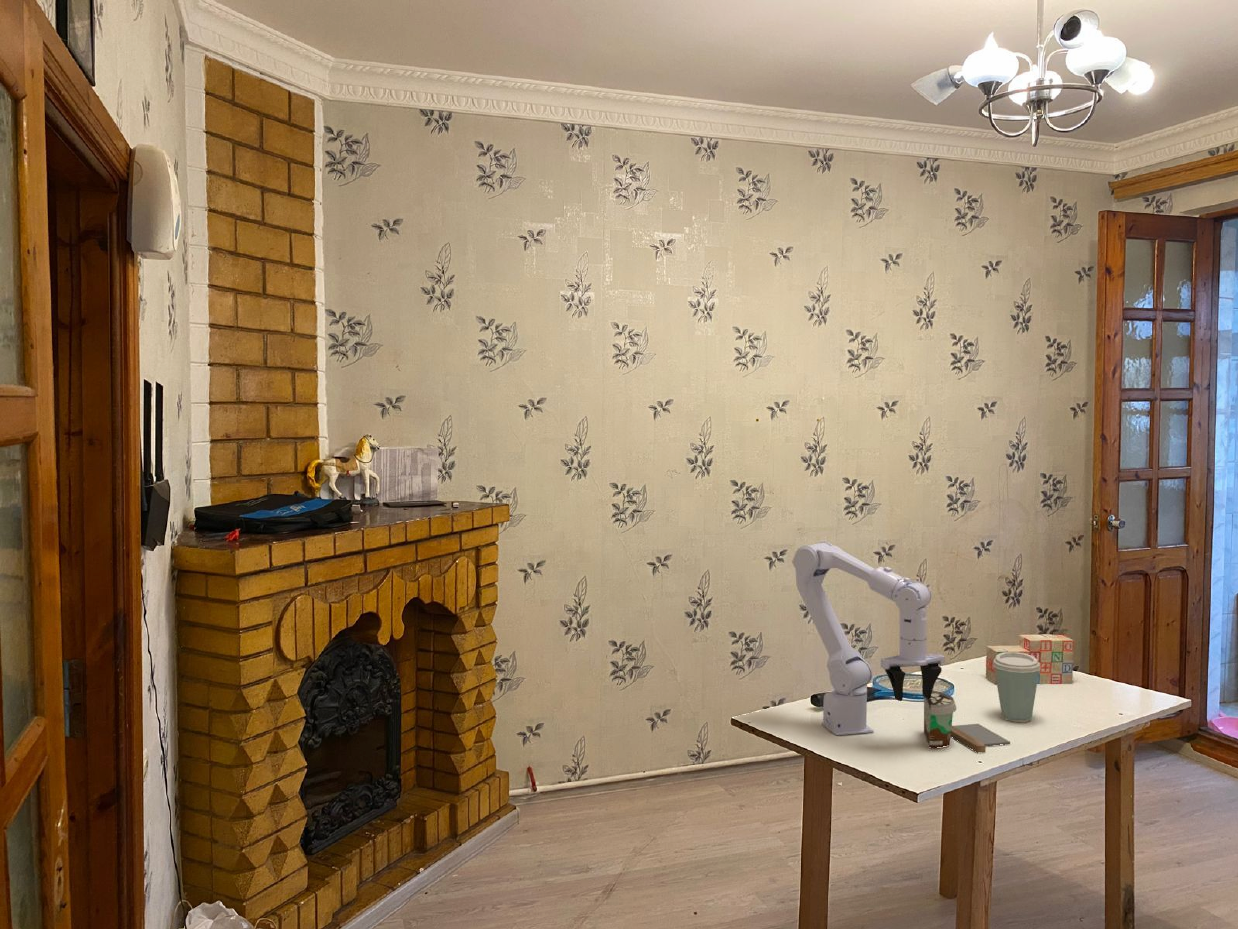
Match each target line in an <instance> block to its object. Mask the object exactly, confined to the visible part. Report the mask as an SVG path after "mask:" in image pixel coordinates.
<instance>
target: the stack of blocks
mask: <svg viewBox="0 0 1238 929" xmlns="http://www.w3.org/2000/svg"><path fill="white" fill-rule="evenodd" d="M1074 643H1075V640H1074V639H1071V638H1070V637H1067V636H1066V635H1063V634H1052V633H1051V634H1049V633H1047V634H1046V633H1045V634H1044V633H1043V634H1019V635H1018V645H987V646H986V657H985V678H986V679H987V680H988V681H990V682H991V683H993V684H994V685H997V681H996V675H995V669H994V666H993V661H994V659H995V658H996V655H998V654H1000V653H1003V652H1017V653H1025V654H1028V655H1031V656H1033V657H1035V658H1036V659H1037V660H1038V662H1039V663H1040V667H1041V668H1040V670H1039V675H1038V681H1037V685H1072V684H1073V678H1074V677H1073V676H1074V674H1073V673H1074V672H1073V670H1074V657H1075V656H1074V654H1075V653H1074Z"/></svg>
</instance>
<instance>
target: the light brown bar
mask: <svg viewBox="0 0 1238 929" xmlns="http://www.w3.org/2000/svg"><path fill="white" fill-rule="evenodd" d="M953 726H954V725H952V727H951V738H952V737H953V738H954V740H955V739H956V740H955V741H957V740H958V741H959V742H958V741H957V742H958V743H959V744H961V745H963V744H964V746H965V747H966V746H968V747H969V748H968V747H967V748H968V749H970V748H971V749H973V750H974V751H976V752H977V753H976V752H975V753H976V754H979V753H978V752H985V753H986V749H987V748H986V746H985V745H984V744H982V743H980V742H979V741H977V740H975V739H974V738H972V737H970V736H969V735H967V734H965V733H964V732H962V731H960V730H958V729H957V728H955V727H953ZM953 738H952V739H953ZM971 749H970V750H971ZM973 750H972V751H973ZM974 751H973V752H974Z"/></svg>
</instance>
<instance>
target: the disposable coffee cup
mask: <svg viewBox="0 0 1238 929" xmlns="http://www.w3.org/2000/svg"><path fill="white" fill-rule="evenodd" d="M993 666H994V669H995V675H996V681H997V684H996V688H997V693H998V700H999V706H1000V711H1001V712H1000V713H1001V715H1002V718H1003V719H1005V720H1006V719H1007V720H1006V721H1010V722H1012V723H1013V722H1014V723H1028V722H1031V719H1032V717H1033V712H1034V706H1035V698H1036V694H1037V693H1036V692H1037V687H1038V684H1037V681H1038V675H1039V670H1040V668H1041V667H1040V663H1039V662H1038V660H1037V659H1036V658H1035V657H1033V656H1031V655H1028V654H1025V653H1017V652H1003V653H1000V654H998V655H996V658H995V659H994V661H993Z"/></svg>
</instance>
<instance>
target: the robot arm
mask: <svg viewBox="0 0 1238 929" xmlns="http://www.w3.org/2000/svg"><path fill="white" fill-rule="evenodd" d="M792 558H793V559H792V561H791V562H792V565H793V567H794V569H795V578H796V579H795V581H796V587H797V590H798V592H799V594H800V596H801V599H802V600H803V603H804V605H805V607H806V609H807V611H808V613H809V616H810V618H811V620H812V622H813V624H814V627H815V628H816V631H817V633H818V635H819V637H820V639H821V641H822V643H823V645H824V647H825V649H826V652H827V654H828V659H827V663H826V668H827V671H828V672H829V681H830V682H829V683H830V684H831V686H832V688H833V689H834V690H832V691H829V692H825V693H824V696H823V703H822V704H823V711H822V713H823V714H822V716H823V718H822V722H821V725H822V726H823V727H825V728H826V729H827V730H829V731H830V732H831V733H833V734H834V735H835V736H844V735H855V734H856V735H858V734H868V733H870V734H871V733H874V729H873V728H871V726H868V724H867V714H868V713H867V711H868V710H867V709H868V708H867V707H868V706H867V705H868V704H867V703H868V699H867V698H868V684H869V683H870V682H871V681H872V680H873V679H872V678H873V669H872V667H871V665H870V663H868V661H866V660H865V659H864V658H863V656H862V654H861V652H860V651H858V650H857V649H855V648H854V647H852V646H851V644H850V642H849V639H848V638H847V635H846V634H845V631H844V630H843V627H842V625H841V624H840V621H839V619H838V617H837V614H836V613H835V611H834V608H833V606H832V603H831V601H829V599H828V595H827V593H826V592H825V590H824V588H823V585H822V584H823V582H824V579H825V577H826V575H827V574H828V572H830V570H831V569H838V570H841V571H843V572H845V573H847V574H850V575H852V576H854V577H856V578H858V579H861V580H863V581H865V582H867V585H868V587H869V589H870V590H872V591H873V592H875V593H877V594H879V595H881V596H883V597H884V598H887V599H888V600H890V601H892V602H894V603H895V605H896V606H897V608H898V610H899V639H898V640H899V643H898V644H899V651H898V655H894V656H890V657H889V656H888V657H883V658H880V668H882V669H883V670H884V671H885V673H886V675H887V677H888V679H889V682H890V684H891V689H892V692H893V696H894V699H895V700H896V701H898V702H902V701H903V698H904V682H905V676H906V674H907V673H906V672H904V671H902V669H903V668H907V667H908V668H909V667H910V668H911V667H920V673H921V681H922V682H921V686H922V687H921V689H922V697H923V698H924V697H926V698H928V699H930V698H931V694H932V690H934V686H935V683H936V682H937V680H938V678H939V676H940V675H941V673H942V670H943V669H942V667H941V666H945V664H946V657H945V655H942V654H939V653H936V654H930V653H929V654H927V648H928V646H927V640H928V638H927V637H928V634H927V632H928V630H927V627H928V626H927V625H928V622H927V621H928V619H927V618H928V617H927V616H928V615H927V613H928V612H927V611H928V609H927V608H928V607H927V606H928V605H929V604H930V603H931V600H932V593H931V592H932V591H931V590H930V588H929V587H928V586H927V585H926V584H924V583H923V581H919V580H918V581H911V578H909V577H903V576H901V575H899V574H898V573H895V572H893V571H892V570H893V569H892V568H891V567H889V566H886V567H885V566H884V567H883V566H879V567H877V568H874V567H872V566H870V565H869V564H867V563H866V562H863V561H861V560H860V559H858V558H856V557H854V556H853V555H852V554H849V553H848V552H846V551H844V550H843V549H841V548H840V547H839V546H837V545H834V544H831V543H830V542H828V541H821V542H818V543H815V544H809V545H802V546H800V547H799V548H797V549H796V551H795V553H794V556H793V557H792Z"/></svg>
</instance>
